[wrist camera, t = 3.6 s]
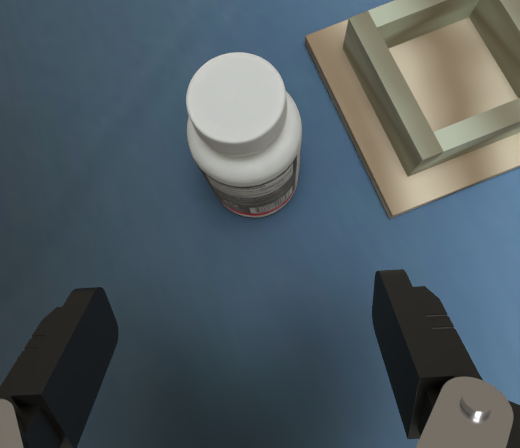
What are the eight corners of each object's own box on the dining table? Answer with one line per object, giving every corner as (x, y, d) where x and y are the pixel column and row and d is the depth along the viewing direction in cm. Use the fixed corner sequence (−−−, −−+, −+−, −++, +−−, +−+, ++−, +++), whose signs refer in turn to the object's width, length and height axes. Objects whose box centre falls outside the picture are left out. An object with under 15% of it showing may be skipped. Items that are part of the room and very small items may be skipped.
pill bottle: (220, 132, 26) (183, 28, 17) (303, 142, 26) (314, 41, 16) (205, 213, 25) (155, 151, 16) (291, 225, 25) (295, 168, 15)
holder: (389, 218, 24) (406, 202, 21) (304, 43, 27) (307, 4, 24) (588, 139, 24) (636, 111, 21) (483, -26, 27) (511, -74, 24)
